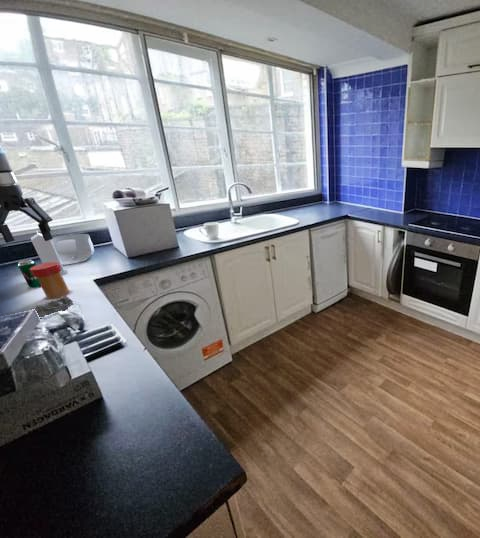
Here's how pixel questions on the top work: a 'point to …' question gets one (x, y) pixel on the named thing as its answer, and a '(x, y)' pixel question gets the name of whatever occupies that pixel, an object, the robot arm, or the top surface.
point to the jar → (53, 285)
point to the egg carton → (53, 306)
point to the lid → (45, 269)
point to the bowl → (73, 248)
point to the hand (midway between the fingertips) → (29, 240)
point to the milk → (46, 250)
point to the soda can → (28, 273)
